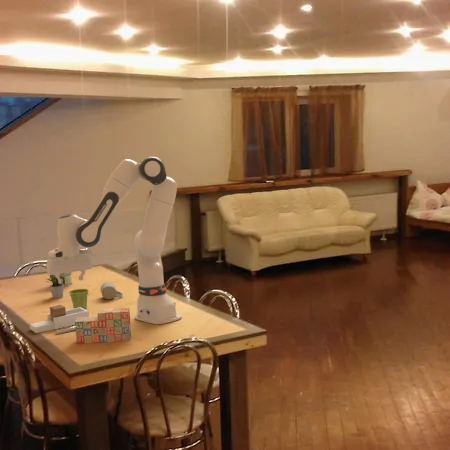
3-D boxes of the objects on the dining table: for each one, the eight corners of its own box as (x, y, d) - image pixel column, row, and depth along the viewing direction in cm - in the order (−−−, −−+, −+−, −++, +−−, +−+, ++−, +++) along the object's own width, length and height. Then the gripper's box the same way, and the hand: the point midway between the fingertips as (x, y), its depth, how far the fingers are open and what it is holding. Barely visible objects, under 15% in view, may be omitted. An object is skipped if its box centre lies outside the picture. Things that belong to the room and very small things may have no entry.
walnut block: (66, 320, 278) (65, 306, 277) (55, 322, 275) (54, 309, 274) (61, 317, 282) (60, 304, 281) (51, 320, 279) (49, 306, 278)
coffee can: (55, 287, 352) (53, 262, 350) (52, 284, 361) (50, 259, 359) (74, 284, 356) (72, 260, 354) (70, 281, 365) (68, 257, 363)
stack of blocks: (76, 344, 252) (73, 314, 250) (78, 339, 258) (76, 310, 257) (130, 340, 253) (128, 311, 252) (131, 336, 260) (129, 306, 258)
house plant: (78, 292, 337) (75, 262, 334) (69, 299, 323) (66, 268, 321) (52, 293, 338) (49, 263, 336) (42, 300, 325) (39, 269, 322)
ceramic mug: (102, 300, 318) (101, 285, 317) (100, 297, 326) (100, 282, 325) (123, 298, 321) (122, 284, 320) (121, 295, 329) (120, 280, 328)
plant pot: (70, 312, 300) (69, 294, 298) (69, 307, 309) (68, 289, 307) (90, 309, 302) (89, 292, 301) (89, 305, 311) (88, 287, 310)
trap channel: (89, 321, 282) (88, 310, 282) (36, 333, 269) (35, 322, 268) (81, 317, 289) (80, 307, 288) (30, 329, 275) (28, 317, 275)
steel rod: (87, 323, 274) (88, 327, 274) (86, 323, 275) (87, 327, 275) (56, 330, 266) (57, 334, 266) (55, 330, 267) (56, 335, 267)
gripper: (88, 247, 287) (90, 277, 289) (44, 252, 276) (46, 284, 278) (94, 249, 282) (95, 279, 284) (49, 254, 271) (51, 286, 272)
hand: (71, 281), depth 281 cm, fingers open, 8 cm apart
